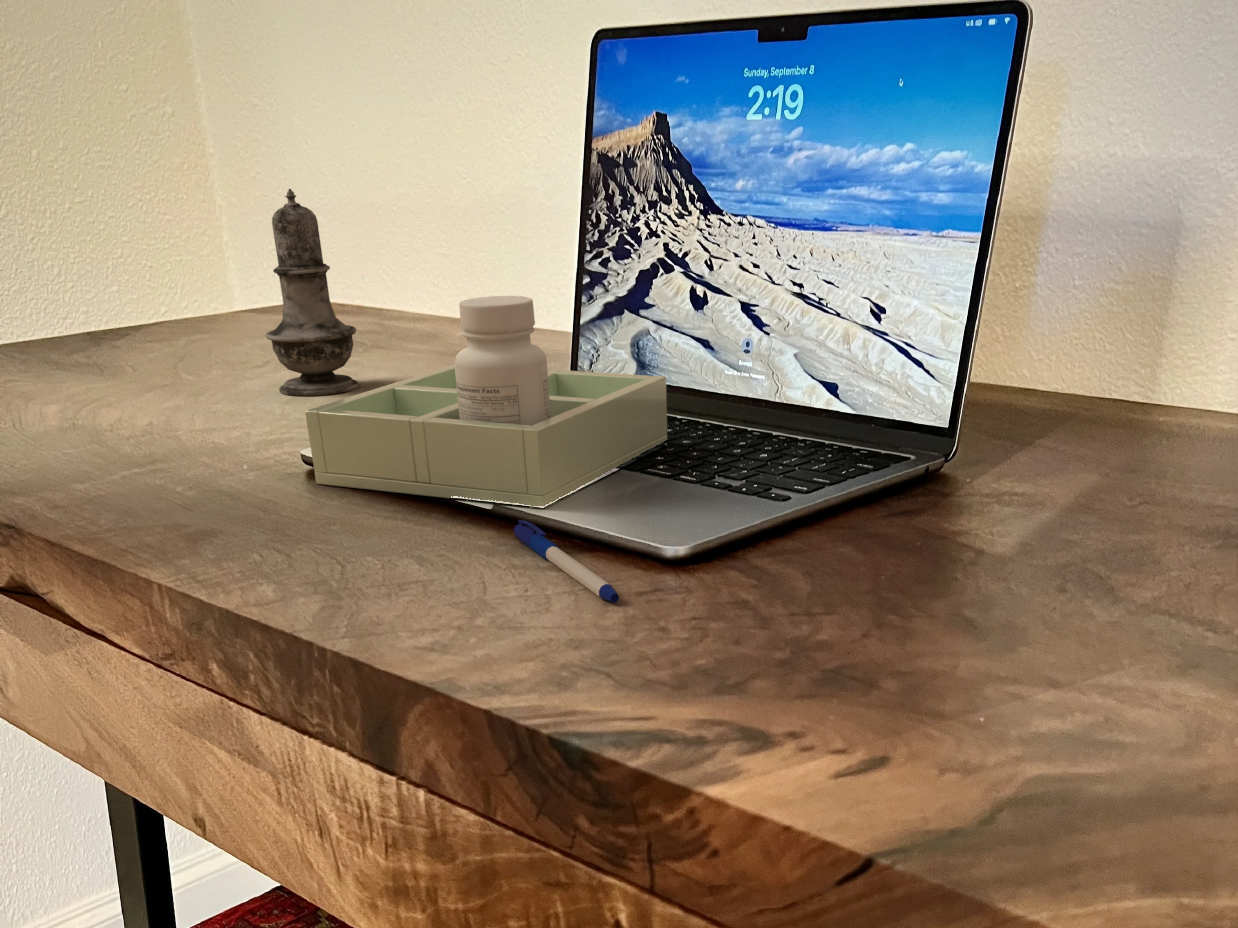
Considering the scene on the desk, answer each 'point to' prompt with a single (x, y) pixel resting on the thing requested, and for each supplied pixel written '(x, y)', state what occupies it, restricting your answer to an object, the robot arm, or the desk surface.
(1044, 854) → the desk surface
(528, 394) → the pill bottle
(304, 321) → the salt shaker
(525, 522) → the ballpoint pen
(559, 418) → the tray
